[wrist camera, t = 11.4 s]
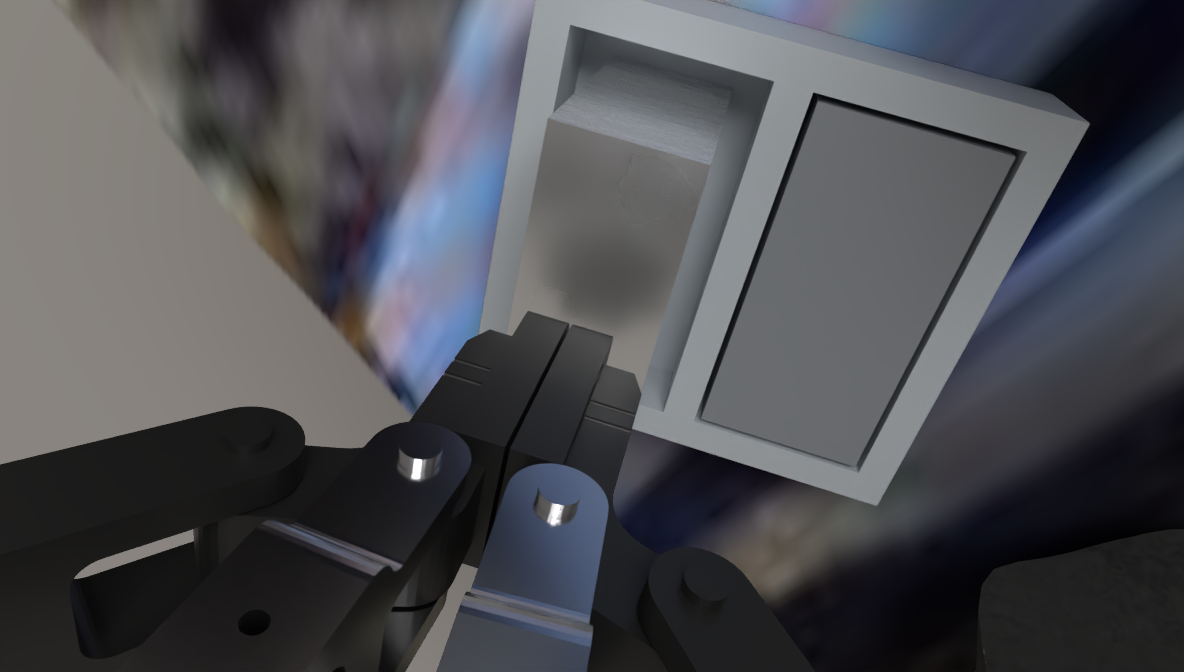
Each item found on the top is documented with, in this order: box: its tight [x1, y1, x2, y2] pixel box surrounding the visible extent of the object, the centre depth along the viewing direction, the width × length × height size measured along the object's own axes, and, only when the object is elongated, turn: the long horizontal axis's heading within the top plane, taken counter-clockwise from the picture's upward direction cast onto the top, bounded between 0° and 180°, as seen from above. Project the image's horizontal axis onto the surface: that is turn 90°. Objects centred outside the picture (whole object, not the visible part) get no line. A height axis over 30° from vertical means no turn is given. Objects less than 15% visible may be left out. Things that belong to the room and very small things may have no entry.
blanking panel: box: [507, 55, 733, 391], centre depth 17 cm, size 7×3×6 cm, turn 168°
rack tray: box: [478, 0, 1090, 506], centre depth 19 cm, size 11×11×3 cm
